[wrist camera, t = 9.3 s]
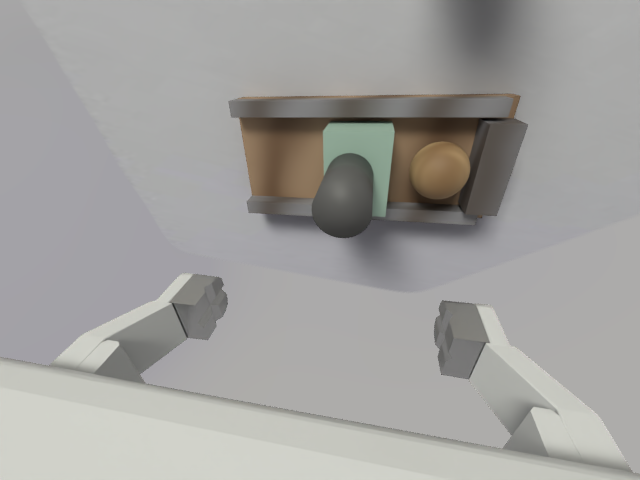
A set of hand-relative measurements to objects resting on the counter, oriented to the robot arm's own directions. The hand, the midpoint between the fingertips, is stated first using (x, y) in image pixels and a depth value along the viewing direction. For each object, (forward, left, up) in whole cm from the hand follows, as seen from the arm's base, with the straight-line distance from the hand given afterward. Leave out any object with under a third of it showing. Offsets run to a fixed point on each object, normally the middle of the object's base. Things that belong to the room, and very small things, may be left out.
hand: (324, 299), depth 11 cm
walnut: (-7, 0, -15) cm, 17 cm away
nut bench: (-1, 0, -19) cm, 19 cm away
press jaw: (0, 0, -17) cm, 17 cm away
